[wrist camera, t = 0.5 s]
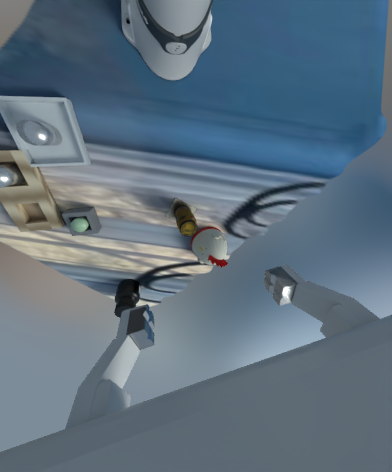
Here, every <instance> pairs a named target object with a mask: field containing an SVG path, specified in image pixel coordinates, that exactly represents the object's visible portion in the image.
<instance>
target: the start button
mask: <svg viewBox="0 0 392 472" xmlns="http://www.w3.org/2000/svg"><path fill="white" fill-rule="evenodd" d="M89 225H90V224H89V221H88V219H87V218H86V217H84V216H80V217H77V218H75V219H74V220H73V221H72V222H71V224H70V226H71V228H72V229H73V230H74V231H76V232H83V231H85V230H86V229H87V227H88V226H89Z"/></svg>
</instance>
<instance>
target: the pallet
mask: <svg viewBox="0 0 392 472" xmlns="http://www.w3.org/2000/svg"><path fill="white" fill-rule="evenodd" d="M28 153H29V151H28ZM29 155H30V154H29ZM3 164H16V165H18V167H19V169H20V170H21V172H22V174H23V176H24V178H25V180H26V181H24V182H21V183H17V184H13V185H10V186H6V187H2V188H0V202H1V203H2V205H3V206H4V208H5V209H6V211H7V212H8V214H9V215H10V217H11V218H12V220H13V221H14V223H15V224H16V226H17V227H18V229H19V230H20V232H26V231H35V230H45V229H55V228H61V227H62V226H64V225H65V224H66V223H65V221H64V219H63V217H62V215H61V213H60V211H59V209H58V207H57V204H56V202H55V200H54V198H53V196H52V194H51V192H50V190H49V188H48V186H47V184H46V182H45V180H44V178H43V176H42V174H41V172H40V169H39V167H31V166H30V164H29V162H28V160H27V158H26V156H25V154H24V152H23V150H8V151H0V165H3ZM33 164H34V163H33Z"/></svg>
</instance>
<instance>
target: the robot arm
mask: <svg viewBox="0 0 392 472" xmlns="http://www.w3.org/2000/svg"><path fill="white" fill-rule="evenodd" d="M212 2H213V0H121V11H122V30H123V34H124V36H125V38H126V39H127V40H128V41H129V42H130V43H131V44H132V45H133V46H135V47H136V48H137V50H138V51H139V52H140V54H141V56H142V58H143V59H144V61H145V62H146V64H147V65H148V66H149V68H150V69H151V70H152V71H153V72H154V73H156V74H157V75H158V76H160V77H162V78H164V79H167V80H178V79H181V78H183V77H185V76H186V75H188V74H189V73H190V72H191V70H192V69H193V68H194V66H195V64H196V62H197V60H198V57H199V56H200V54H201V53H202V52H203V51H204V50H205V49H206V48H207V47H208V46H209V44H210V41H211V30H210V26H211V23H212V15H211V7H212ZM127 20H130V24H127V22H126V21H127ZM265 275H266V277H265V278H264V284H265V287H266V289H267V290H268V292H270V293H271V294H273V298H274V300H275V301H276V302H277V304H278V305H279V306H281V305H284V304H288V303H292V304H293V305H295V306H297V307H298V308H300V309H302V310H303V311H305V312H306V313H308V314H310V315H311V316H313V317H315V318H316V319H318V320H320V321H321V322H323V325H322V327H321V330H320V331H321V332H322V333H323V335H325V337H326V338H324V339H321V340H319V341H316V342H313V343H310V344H307V345H304V346H301V347H299V348H296V349H293V350H290V351H287V352H284V353H281V354H279V355H276V356H273V357H270V358H267V359H264V360H261V361H259V362H256V363H253V364H250V365H247V366H244V367H241V368H239V369H236V370H233V371H230V372H227V373H224V374H221V375H219V376H216V377H213V378H210V379H207V380H204V381H201V382H199V383H196V384H193V385H190V386H187V387H184V388H181V389H179V390H176V391H173V392H170V393H167V394H164V395H162V396H159V397H156V398H153V399H150V400H147V401H144V402H142V403H139V404H136V405H133V406H130V395H129V394H128V393H127V392H125V391H124V390H123V389H122V388H123V386H124V384H125V382H126V380H127V377H128V376H129V373H130V371H131V369H132V367H133V365H134V363H135V361H136V359H137V357H138V355H139V353H140V350H141V349H144V348H147V347H150V346H153V345H154V332H153V328H154V316H153V313H152V311H149V309H150V307H149V305H148V304H147V305H143V306H139V307H135V308H131V309H127V310H124V311H123V312H122V313H121V318H120V323H119V328H118V332H117V337H116V339H114V340H113V341H112V342H111V344H110V345H109V346H108V348H107V349H106V351H105V352H104V353H103V355H102V356H101V358H100V359H99V360H98V362H97V363H96V364H95V366H94V367H93V369H92V370H91V371H90V373H89V374H88V375H87V377H86V378H85V380H84V381H83V382H82V384H81V385H80V387H79V388H78V391H77V394H76V397H75V400H74V403H73V406H72V409H71V412H70V415H69V419H68V422H67V425H66V428H65V429H64V430H62V431H59V432H56V433H53V434H50V435H47V436H44V437H42V438H39V439H36V440H33V441H30V442H27V443H25V444H22V445H19V446H16V447H13V448H10V449H8V450H5V451H2V452H0V472H392V315H390V316H387V317H384V318H382V319H379V318H378V317H377V316H376V315H374V314H373V313H372V312H370V311H369V310H368V309H367V308H365V307H364V306H363V305H361V304H360V303H359V302H358V301H356V300H355V299H354V298H351V297H348V296H346V295H343V294H340V293H338V292H335V291H333V290H330V289H328V288H325V287H323V286H320V285H317V284H315V283H312V282H310V281H305V280H304V279H303V278H302V277H301V276H299V275H298V274H297V273H296V272H295V271H294V270H293V269H292V268H290V266H288V265H283V266H280V267H276V268H273V269H269V270H266V271H265Z"/></svg>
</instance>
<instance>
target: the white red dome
mask: <svg viewBox="0 0 392 472" xmlns="http://www.w3.org/2000/svg"><path fill="white" fill-rule="evenodd" d="M226 242H227V241H226V239H225V236H224V235H223V233H222V232H221V231H220V230H219V229H217V228H214V227H206V228H203V229H201V230H199V231H198V232H197V233H196V234H195V235H194V236H193V238H192V241H191V247H192V250H193V252H194V254H195V255H196V256H197V257H198V261H199V262H200V263H206V264H208V265H215V264H216V265H217V266H219V265H220V266H221V267H222V266H225V265H227V264H228V263H227V262H226V261H225V260H224V258H225V256H226V253H227V243H226Z"/></svg>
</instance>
